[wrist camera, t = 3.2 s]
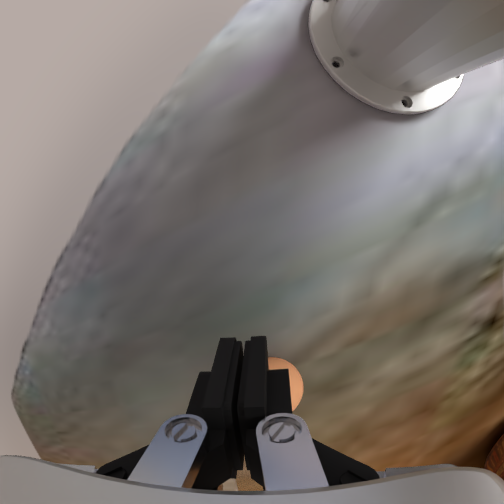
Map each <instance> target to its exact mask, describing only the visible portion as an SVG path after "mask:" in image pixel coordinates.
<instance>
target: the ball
mask: <svg viewBox="0 0 504 504" xmlns="http://www.w3.org/2000/svg"><path fill="white" fill-rule="evenodd" d="M268 365H269V370H273V369H289V379H290V391H291V402H292V411H293V410H294V409H295V408H296V407H297V406H298V404H299V403H300V400H301V398H302V395H303V381H302V377H301V375H300V373H299V372H298V370H297V369H296V368H295V367H294V366H293V365H292V364H291V363H289V362H288V361H286V360H284V359H281V358H275V357H268Z"/></svg>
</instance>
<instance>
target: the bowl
mask: <svg viewBox="0 0 504 504" xmlns="http://www.w3.org/2000/svg"><path fill="white" fill-rule="evenodd" d="M484 469H486V470H489V471H492V472H493V473H495V474H497V475H498V476H499V477H500V478H502V479H503V480H504V434H503V435H502V436H501V437H500V439H499V440H498V441H497V442H496V444H495V445H494V447H493V448H492V450H491V451H490V453H489V455H488V456H487V459H486V462H485V466H484Z"/></svg>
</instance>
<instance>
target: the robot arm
mask: <svg viewBox="0 0 504 504" xmlns="http://www.w3.org/2000/svg"><path fill="white" fill-rule="evenodd" d="M324 1H326V2H324ZM308 28H309V35H310V40H311V43H312V46H313V48H314V51H315V54H316V55H317V57H318V59H319V60H320V62H321V64H322V66H323V67H324V69H325V70H326V71H327V72H328V73H329V75H330V76H331V77H332V78H333V79H334V81H335V82H337V83H338V84H339V85H340V86H341V87H342V88H343V89H344V90H346V91H347V92H348V93H349V94H351V95H352V96H354V97H356V98H357V99H359V100H360V101H362V102H364V103H366V104H368V105H370V106H372V107H374V108H376V109H380V110H383V111H387V112H390V113H396V114H406V115H409V114H419V113H424V112H427V111H431V110H434V109H436V108H438V107H440V106H442V105H444V104H445V103H446V102H447V101H449V100H450V99H451V98H452V97H453V96H454V94H455V93H456V92H457V90H458V89H459V87H460V85H461V83H462V80H463V77H464V74H465V73H467V72H470V71H472V70H475V69H478V68H480V67H483V66H485V65H488V64H491V63H493V62H496V61H499V60H502V59H504V0H313V1H312V3H311V7H310V11H309V20H308ZM332 63H337V64H338V66H339V68H336V67H334V66H333V65H332ZM401 101H403V102H404V103H405V107H404V106H403V105H402V102H401ZM244 455H245V461H246V467H247V470H250V473H251V478H252V479H253V480H255V481H256V482H257V483H259V484H260V485H261V486H263V491H223V483H224V482H226V481H227V480H229V479H236V475H237V470H243V462H244ZM0 504H504V480H503V479H502V478H500V477H499V476H498V475H497V474H495V473H493V472H492V471H489V470H486V469H483V468H476V467H457V466H454V465H452V464H439V465H429V466H418V467H403V468H386V470H385V472H376V471H375V470H374V469H372V468H371V467H369V466H367V465H365V464H363V463H361V462H359V461H356V460H354V459H352V458H350V457H348V456H346V455H344V454H342V453H340V452H338V451H336V450H334V449H332V448H330V447H328V446H326V445H324V444H322V443H320V442H318V441H316V440H314V439H312V438H311V435H310V432H309V430H308V427H307V424H306V423H305V421H304V420H303V419H302V418H300V417H299V416H296V415H294V414H292V402H291V391H290V379H289V369H273V370H269V365H268V353H267V340H266V336H256V337H251V341H246V342H245V349H244V356H243V348H242V342H241V341H236V338H220V341H219V345H218V349H217V352H216V356H215V360H214V363H213V367H212V370H211V372H200V373H199V375H198V378H197V381H196V384H195V387H194V390H193V393H192V396H191V399H190V402H189V406H188V409H187V412H186V414H182V415H176V416H174V417H171V418H169V419H168V420H166V421H165V422H164V423H163V424H162V425H161V427H160V428H159V430H158V432H157V433H156V435H155V436H154V438H153V440H152V441H151V443H150V444H149V445H147V446H145V447H143V448H141V449H139V450H137V451H135V452H132V453H130V454H128V455H126V456H123V457H121V458H119V459H116V460H114V461H112V462H109V463H107V464H105V465H103V466H102V467H100V468H99V469H97V468H96V467H95V466H86V465H69V464H57V463H53V462H49V461H45V460H41V459H36V458H31V457H25V456H17V455H15V456H14V455H13V456H12V455H4V456H0Z"/></svg>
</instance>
